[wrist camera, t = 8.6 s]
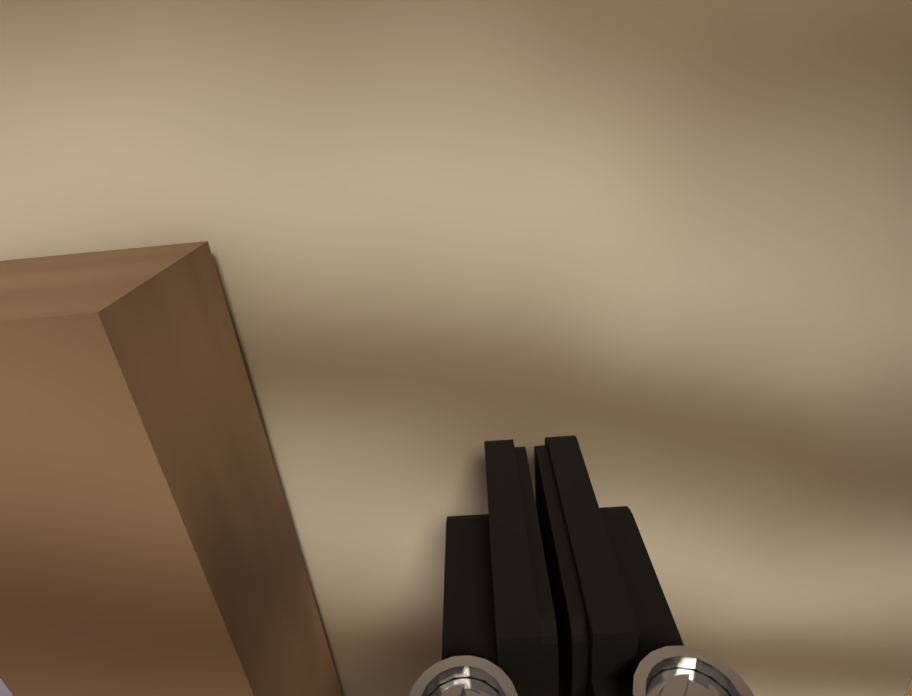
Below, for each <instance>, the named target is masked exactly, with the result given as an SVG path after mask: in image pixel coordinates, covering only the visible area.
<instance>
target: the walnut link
mask: <svg viewBox="0 0 912 696" xmlns="http://www.w3.org/2000/svg"><path fill="white" fill-rule="evenodd" d="M0 678H1V679H2V681H3V682H4V683H5V685H6V686H7V688H8V689H9V690H10V692H11V693H12V695H13V696H343V695H342V691H341V688H340V685H339V681H338V678H337V675H336V671H335V668H334V665H333V661H332V658H331V654H330V651H329V648H328V644H327V641H326V638H325V634H324V631H323V627H322V624H321V621H320V617H319V614H318V611H317V607H316V604H315V601H314V597H313V594H312V590H311V587H310V584H309V580H308V577H307V574H306V570H305V567H304V564H303V560H302V557H301V553H300V550H299V547H298V543H297V540H296V537H295V533H294V530H293V526H292V523H291V520H290V516H289V513H288V510H287V506H286V503H285V500H284V496H283V493H282V489H281V486H280V483H279V479H278V476H277V473H276V469H275V466H274V462H273V459H272V456H271V452H270V449H269V446H268V442H267V439H266V436H265V432H264V429H263V425H262V422H261V419H260V415H259V412H258V409H257V405H256V402H255V398H254V395H253V392H252V388H251V385H250V382H249V378H248V375H247V372H246V368H245V365H244V361H243V358H242V355H241V351H240V348H239V345H238V341H237V338H236V334H235V331H234V328H233V324H232V321H231V318H230V314H229V311H228V308H227V304H226V301H225V297H224V294H223V291H222V287H221V284H220V281H219V277H218V274H217V270H216V267H215V264H214V260H213V257H212V254H211V250H210V247H209V244H208V241H204V242H193V243H183V244H172V245H162V246H151V247H141V248H130V249H120V250H109V251H98V252H88V253H77V254H67V255H56V256H46V257H35V258H25V259H14V260H4V261H0Z"/></svg>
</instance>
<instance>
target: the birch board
mask: <svg viewBox="0 0 912 696" xmlns="http://www.w3.org/2000/svg"><path fill="white" fill-rule="evenodd" d="M204 241H208V244H209V247H210V250H211V254H212V257H213V260H214V264H215V267H216V270H217V274H218V277H219V281H220V284H221V287H222V291H223V294H224V297H225V301H226V304H227V308H228V311H229V314H230V318H231V321H232V324H233V328H234V331H235V334H236V338H237V341H238V345H239V348H240V351H241V355H242V358H243V361H244V365H245V368H246V372H247V375H248V378H249V382H250V385H251V388H252V392H253V395H254V398H255V402H256V405H257V409H258V412H259V415H260V419H261V422H262V425H263V429H264V432H265V436H266V439H267V442H268V446H269V449H270V452H271V456H272V459H273V462H274V466H275V469H276V473H277V476H278V479H279V483H280V486H281V489H282V493H283V496H284V500H285V503H286V506H287V510H288V513H289V516H290V520H291V523H292V526H293V530H294V533H295V537H296V540H297V543H298V547H299V550H300V553H301V557H302V560H303V564H304V567H305V570H306V574H307V577H308V580H309V584H310V587H311V590H312V594H313V597H314V601H315V604H316V607H317V611H318V614H319V617H320V621H321V624H322V627H323V631H324V634H325V638H326V641H327V644H328V648H329V651H330V654H331V658H332V661H333V665H334V668H335V671H336V675H337V678H338V681H339V685H340V688H341V691H342V695H343V696H409V695H410V692H411V690H412V687H413V685H414V684H415V683H416V681H417V680H418V679H419V678H420V676H421V675H422V674H423V672H424V671H426V670H427V669H429V668H430V667H431V666H433V665H434V664H435V663H437V662H439V661H441V659H442V630H443V600H444V571H445V542H446V520H447V516H463V515H481V514H489V511H488V495H487V479H486V463H485V447H484V441H494V440H510V439H513V441H514V447H526V452H527V457H528V463H529V469H530V475H531V480H532V486H533V492H534V498H535V464H534V446H541V445H545V438H546V437H557V436H573V435H575V436H576V438H577V440H578V443H579V446H580V449H581V453H582V456H583V459H584V462H585V465H586V468H587V471H588V474H589V478H590V481H591V484H592V487H593V490H594V493H595V496H596V499H597V502H598V506H599V508H602V507H619V506H627V507H628V508H629V509H630V510H631V512H632V514H633V516H634V519H635V521H636V524H637V526H638V529H639V532H640V534H641V537H642V539H643V542H644V544H645V547H646V549H647V552H648V554H649V557H650V560H651V562H652V565H653V567H654V570H655V572H656V575H657V577H658V580H659V582H660V585H661V588H662V590H663V593H664V595H665V598H666V600H667V603H668V605H669V608H670V610H671V613H672V616H673V618H674V621H675V623H676V626H677V628H678V631H679V633H680V636H681V638H682V641H683V644H684V646H688V647H692V648H696V649H701V650H703V651H705V652H707V653H709V654H711V655H713V656H715V657H718V658H720V659H721V660H722V661H723V662H725V663H726V664H727V665H728V666H730V667H731V668H732V669H734V670H735V671H736V672H737V673H738V674H739V676H740V677H741V678H742V679H743V681H744V682H745V683H746V684H747V686H748V687H749V688H750V689H751V691H752V693H753V694H754V696H904V694H905V692H906V690H907V687H908V685H909V683H910V681H911V679H912V0H0V261H4V260H14V259H25V258H35V257H46V256H56V255H67V254H77V253H88V252H98V251H109V250H120V249H130V248H141V247H151V246H162V245H172V244H183V243H193V242H204ZM535 503H536V502H535Z"/></svg>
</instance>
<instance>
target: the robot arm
mask: <svg viewBox="0 0 912 696" xmlns="http://www.w3.org/2000/svg"><path fill="white" fill-rule="evenodd" d="M484 447H485V463H486V479H487V495H488V511H489V514H481V515H463V516H447V520H446V542H445V571H444V600H443V630H442V659H441V661H439V662H437V663H435V664H434V665H433V666H431V667H430V668H429V669H427V670H426V671H424V672H423V674H422V675H421V676H420V678H419V679H418V680H417V681H416V683H415V684H414V685H413V687H412V690H411V692H410V695H409V696H754V694H753V693H752V691H751V689H750V688H749V687H748V686H747V684H746V683H745V682H744V681H743V679H742V678H741V677H740V676H739V674H738V673H737V672H736V671H735V670H734V669H732V668H731V667H730V666H728V665H727V664H726V663H725V662H723V661H722V660H721V659H720V658H718V657H715V656H713V655H711V654H709V653H707V652H705V651H703V650H701V649H696V648H692V647H688V646H684V644H683V641H682V638H681V636H680V633H679V631H678V628H677V626H676V623H675V621H674V618H673V616H672V613H671V610H670V608H669V605H668V603H667V600H666V598H665V595H664V593H663V590H662V588H661V585H660V582H659V580H658V577H657V575H656V572H655V570H654V567H653V565H652V562H651V560H650V557H649V554H648V552H647V549H646V547H645V544H644V542H643V539H642V537H641V534H640V532H639V529H638V526H637V524H636V521H635V519H634V516H633V514H632V512H631V510H630V509H629V508H628V507H627V506H619V507H602V508H599V506H598V502H597V499H596V496H595V493H594V490H593V487H592V484H591V481H590V478H589V474H588V471H587V468H586V465H585V462H584V459H583V456H582V453H581V449H580V446H579V443H578V440H577V438H576V436H575V435H573V436H557V437H546V438H545V445H541V446H534V464H535V498H534V492H533V486H532V480H531V475H530V469H529V463H528V457H527V452H526V447H514V441H513V439H510V440H494V441H484ZM535 502H536V503H535Z"/></svg>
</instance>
